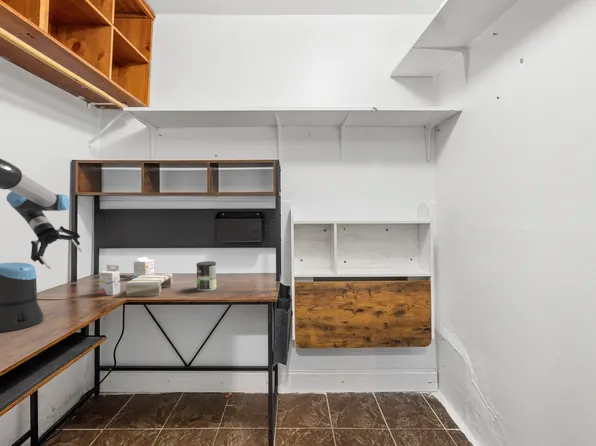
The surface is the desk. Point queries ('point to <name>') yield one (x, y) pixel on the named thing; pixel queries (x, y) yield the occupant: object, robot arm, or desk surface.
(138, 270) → the ink box
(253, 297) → the desk surface
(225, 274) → the desk surface
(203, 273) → the coffee can
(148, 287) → the shelf bridge
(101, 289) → the ink cartridge box
